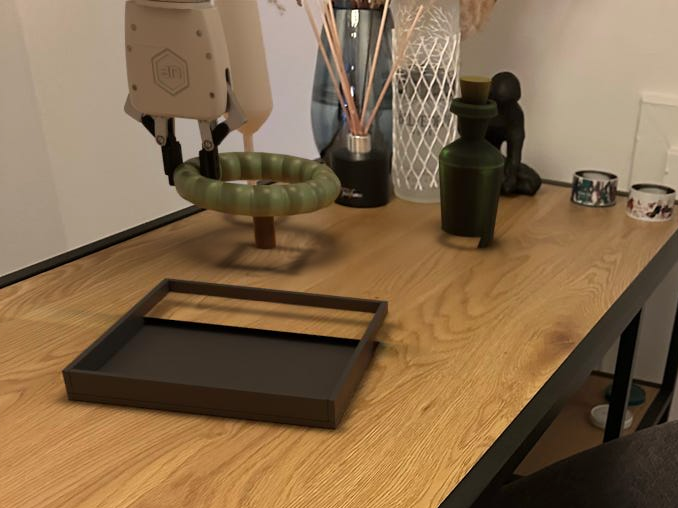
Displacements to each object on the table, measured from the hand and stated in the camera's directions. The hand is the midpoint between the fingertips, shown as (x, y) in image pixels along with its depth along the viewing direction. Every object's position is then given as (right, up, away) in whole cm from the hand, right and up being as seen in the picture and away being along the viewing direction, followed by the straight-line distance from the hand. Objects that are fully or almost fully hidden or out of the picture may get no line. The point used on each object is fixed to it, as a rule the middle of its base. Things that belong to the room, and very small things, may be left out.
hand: (193, 183), depth 105 cm
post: (+7, -7, +5) cm, 11 cm away
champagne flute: (+3, +4, +17) cm, 17 cm away
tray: (+10, -25, -17) cm, 32 cm away
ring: (+7, 0, -1) cm, 8 cm away
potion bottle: (+31, -1, +14) cm, 34 cm away
